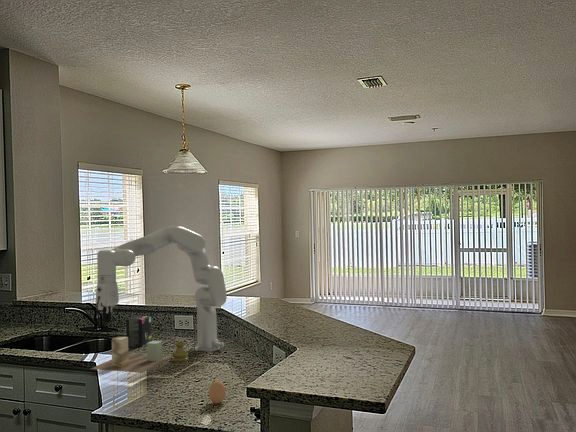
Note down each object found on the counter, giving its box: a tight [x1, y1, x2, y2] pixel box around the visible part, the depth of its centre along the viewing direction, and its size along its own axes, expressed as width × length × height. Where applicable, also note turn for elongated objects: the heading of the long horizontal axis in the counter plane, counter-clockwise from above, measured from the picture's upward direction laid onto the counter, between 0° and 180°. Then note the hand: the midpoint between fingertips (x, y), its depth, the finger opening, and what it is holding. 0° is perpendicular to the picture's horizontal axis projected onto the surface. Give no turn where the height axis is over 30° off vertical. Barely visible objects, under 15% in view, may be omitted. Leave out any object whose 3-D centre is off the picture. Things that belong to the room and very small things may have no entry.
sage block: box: [146, 340, 163, 361], centre depth 245 cm, size 5×5×8 cm
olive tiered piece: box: [171, 340, 190, 363], centre depth 243 cm, size 7×7×10 cm
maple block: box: [111, 336, 129, 367], centre depth 236 cm, size 5×5×12 cm
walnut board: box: [89, 352, 173, 374], centre depth 241 cm, size 26×28×1 cm
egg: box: [208, 380, 227, 404], centre depth 189 cm, size 6×6×8 cm
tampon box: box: [125, 315, 153, 348], centre depth 279 cm, size 11×9×15 cm
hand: (106, 322), depth 228 cm, fingers closed
